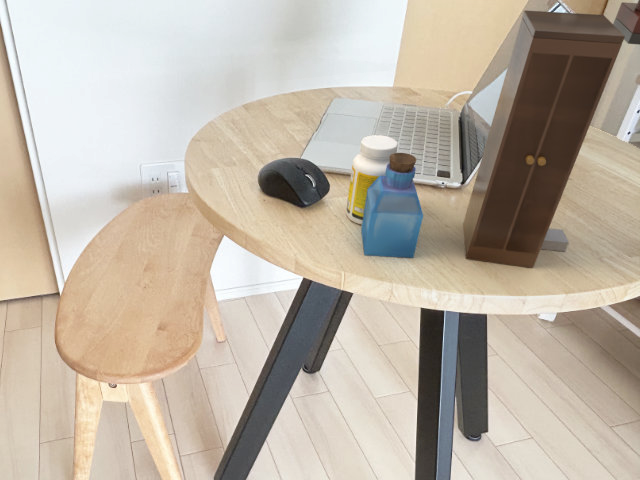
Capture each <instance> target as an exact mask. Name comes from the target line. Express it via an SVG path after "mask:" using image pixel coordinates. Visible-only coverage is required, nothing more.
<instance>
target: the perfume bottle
mask: <svg viewBox="0 0 640 480" xmlns="http://www.w3.org/2000/svg"><path fill="white" fill-rule="evenodd" d="M389 160H390V163H389V164H388V165H387V167H386V173H385V175H386V176H379V177H378V178H377V179H376V180H375V182H374V183H373V184H372V185H371V186H370V187H369V188H368V190H367V196H366V203H365V209H364V215H363V222H362V225H361V229H360V230H361V241H362V248H363V256H372V257H374V256H375V257H390V258H406V259H407V258H408V259H414V257H415V253H416V250H417V244H418V240H419V236H420V231H421V227H422V222H423V219H424V213H423V209H422V206H421V205H422V204H421V202H420V198H419V194H418V192H417V188H416V185H415V180H414V178H415V175H416V170H417V169H416V167H415V165H416V162H417V157H416V156H415V155H412V154H410V153H407V152H397V153H394V154H391V155H390V157H389Z"/></svg>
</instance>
